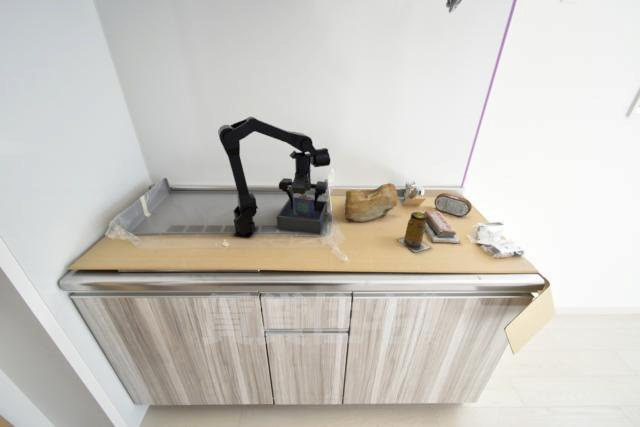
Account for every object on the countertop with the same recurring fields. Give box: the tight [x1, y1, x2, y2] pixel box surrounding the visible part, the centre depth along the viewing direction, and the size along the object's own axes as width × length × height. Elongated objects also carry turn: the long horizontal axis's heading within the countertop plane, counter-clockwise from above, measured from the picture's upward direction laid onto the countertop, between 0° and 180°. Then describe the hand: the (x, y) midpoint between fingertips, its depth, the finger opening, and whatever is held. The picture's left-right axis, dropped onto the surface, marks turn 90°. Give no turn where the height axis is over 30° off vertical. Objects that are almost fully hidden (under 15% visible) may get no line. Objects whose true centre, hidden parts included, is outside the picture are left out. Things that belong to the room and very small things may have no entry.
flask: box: [292, 193, 314, 219], centre depth 99 cm, size 9×3×11 cm, turn 71°
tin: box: [434, 192, 473, 218], centre depth 109 cm, size 15×3×8 cm, turn 49°
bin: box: [275, 198, 329, 235], centre depth 101 cm, size 18×18×6 cm
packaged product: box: [423, 210, 461, 244], centre depth 96 cm, size 18×5×10 cm
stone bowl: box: [343, 182, 399, 223], centre depth 106 cm, size 23×17×15 cm
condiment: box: [398, 211, 430, 253], centre depth 86 cm, size 7×8×12 cm
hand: (303, 204), depth 99 cm, fingers closed on flask, 9 cm apart
